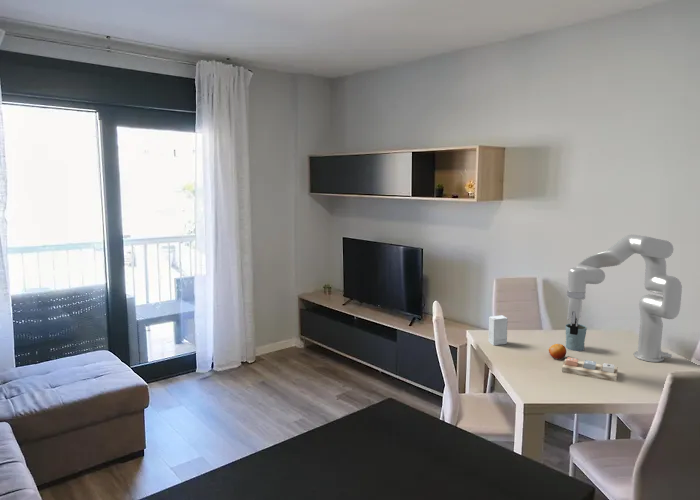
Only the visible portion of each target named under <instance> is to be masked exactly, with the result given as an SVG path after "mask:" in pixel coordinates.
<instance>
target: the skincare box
mask: <svg viewBox="0 0 700 500" xmlns="http://www.w3.org/2000/svg"><path fill="white" fill-rule="evenodd" d="M508 322H509V321H508V317H506V316H505V315H502V314H500V315H493V316H488V343H490V344H491V345H492V346H499V345H500V346H501V345H507V344H508Z"/></svg>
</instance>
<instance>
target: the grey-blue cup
mask: <svg viewBox="0 0 700 500" xmlns="http://www.w3.org/2000/svg"><path fill="white" fill-rule="evenodd" d="M570 325H571V322H570V323H567V324H565V348H566V350H570V351H575V352H582V351H584V349H585V340H586V336H587V329H588V327H587V326H586V325H584V324H581V323H578V334H577V335H573V334H570Z"/></svg>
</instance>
